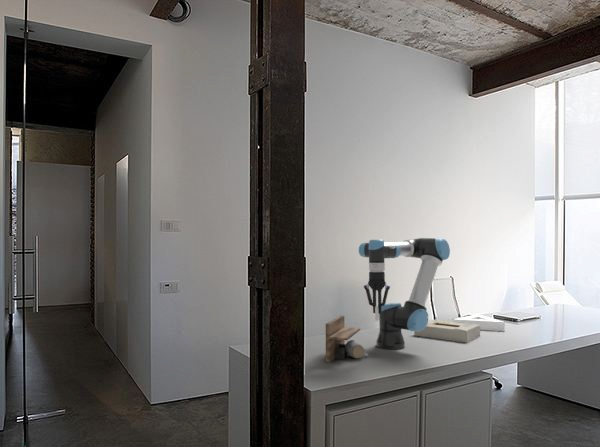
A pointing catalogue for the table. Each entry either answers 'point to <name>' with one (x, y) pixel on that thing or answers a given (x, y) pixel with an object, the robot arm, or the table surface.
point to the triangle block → (483, 322)
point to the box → (449, 331)
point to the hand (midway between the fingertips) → (377, 319)
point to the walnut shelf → (337, 338)
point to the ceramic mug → (355, 349)
